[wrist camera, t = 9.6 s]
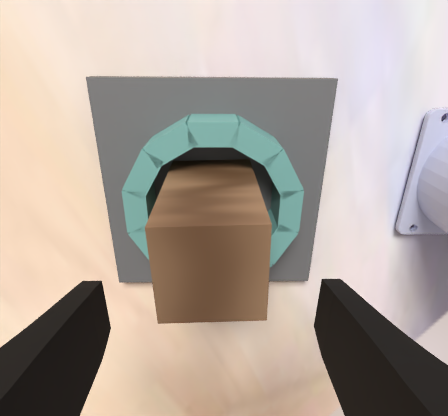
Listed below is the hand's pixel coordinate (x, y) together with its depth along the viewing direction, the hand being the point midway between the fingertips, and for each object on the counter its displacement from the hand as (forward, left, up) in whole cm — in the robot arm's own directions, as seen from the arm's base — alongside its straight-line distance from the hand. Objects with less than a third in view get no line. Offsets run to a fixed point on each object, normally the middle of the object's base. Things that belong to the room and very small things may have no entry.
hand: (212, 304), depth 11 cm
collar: (0, 0, -10) cm, 10 cm away
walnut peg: (0, 0, -10) cm, 10 cm away
